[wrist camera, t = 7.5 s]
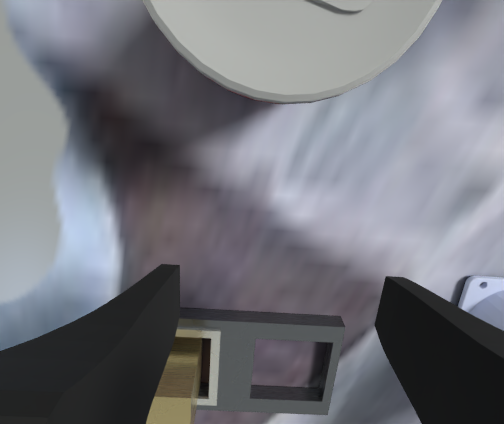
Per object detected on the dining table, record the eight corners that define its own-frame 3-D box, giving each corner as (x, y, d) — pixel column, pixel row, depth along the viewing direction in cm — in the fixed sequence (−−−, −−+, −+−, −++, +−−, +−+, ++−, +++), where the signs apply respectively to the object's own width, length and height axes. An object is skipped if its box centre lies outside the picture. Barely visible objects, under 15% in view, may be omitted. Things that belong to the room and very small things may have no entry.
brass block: (202, 333, 24) (190, 398, 19) (201, 376, 25) (189, 448, 20) (146, 330, 24) (119, 395, 19) (148, 374, 25) (122, 446, 20)
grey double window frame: (340, 316, 24) (346, 329, 22) (324, 401, 26) (328, 417, 25) (127, 304, 23) (119, 317, 22) (132, 393, 26) (125, 409, 24)
